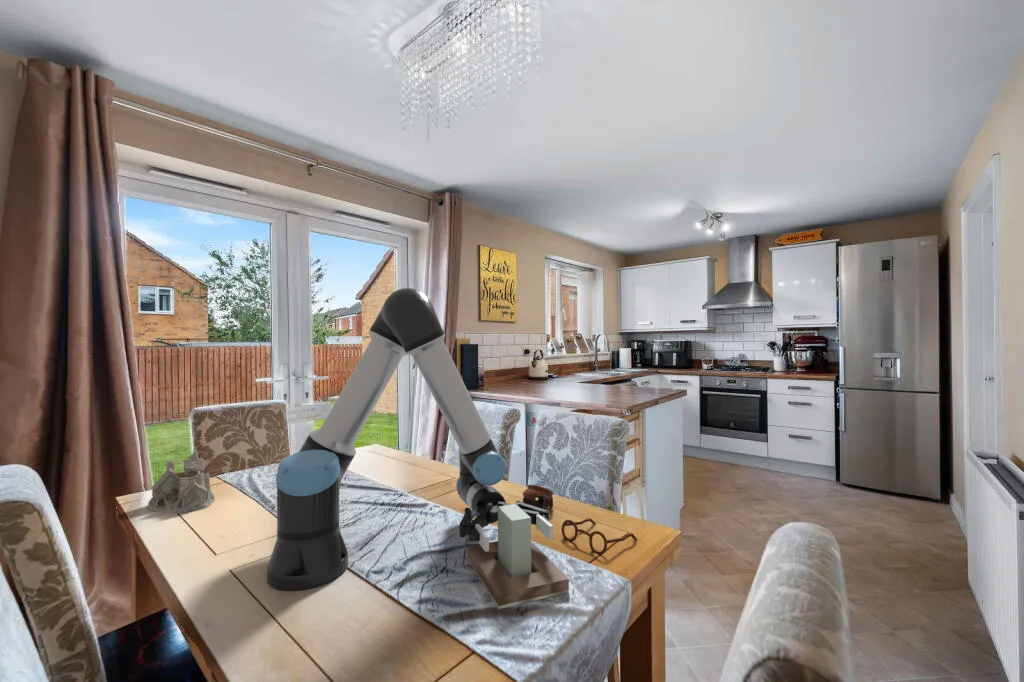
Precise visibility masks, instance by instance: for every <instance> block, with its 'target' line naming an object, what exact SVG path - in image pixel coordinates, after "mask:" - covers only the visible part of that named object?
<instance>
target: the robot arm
mask: <svg viewBox="0 0 1024 682" xmlns="http://www.w3.org/2000/svg"><path fill="white" fill-rule="evenodd" d="M368 334H369V336H370V342H369V343H368V344H367V346H366V348H365V350H364V352H362V353H363V354H362V355H361V356H360V359H359V360H358V362H357V363H356V366H355V367H354V369H353V371H352V373H351V374H350V376H349V378H348V379H347V382H346V384H345V385H344V387H343V388H342V390H341V392H340V394H339V396H337V399H336V400H335V402H334V403H333V406H332V407H331V409H330V410H329V413H328V414H327V416H326V417H325V420H324V421H323V423H322V425H321V426H320V428H318V429H316V430H312V431H311V432H309V434H308V436H307V437H306V439H305V441H304V442H303V445H302V446H301V447H300V450H299V451H297V452H295V453H293V454H291V455H287V456H286V457H284V458H283V459H282V460H281V461H280V463H279V464H278V466H277V473H276V476H275V481H276V515H277V516H276V517H277V518H276V530H277V531H276V541H275V544H274V547H273V549H272V552H271V555H270V559H269V561H268V564H267V567H266V583H268V585H269V586H270V587H272V588H273V589H277V590H282V591H302V590H307V589H311V588H316V587H318V586H321V585H325V584H327V583H329V582H332V581H333V580H335V579H336V578H339V577H340V576H341V575H342V574H343V573H344V572H345V571H346V570H347V568H348V567H349V553H348V552H349V551H348V548H347V547H346V543H345V540H344V537H343V535H342V532H341V529H340V491H341V489H340V488H341V484H342V479H343V478H344V476H345V474H346V472H347V470H348V469H349V466H350V465H351V463H352V461H353V460H354V458H355V456H356V454H357V450H356V448H355V443H356V441H357V439H358V437H359V435H360V434H361V432H362V430H363V429H364V426H365V425H366V423H367V421H368V419H369V417H370V415H371V414H372V412H373V411H374V409H375V407H376V405H377V404H378V402H379V400H380V398H381V396H382V395H383V393H384V390H385V389H386V388H387V386H388V383H390V380H391V379H392V377H393V375H394V373H395V372H396V369H397V368H398V367H399V364H400V362H401V360H403V358H404V356H405V357H406V356H412V357H413V359H414V361H415V363H416V365H417V367H418V369H419V371H420V374H421V375H422V377H423V379H424V381H425V383H426V385H427V387H428V389H429V392H430V393H431V395H432V397H433V399H434V401H435V403H436V406H437V407H438V409H439V410H440V413H441V414H442V416H443V419H444V420H445V422H446V425H447V426H448V428H449V430H450V432H451V434H452V436H453V438H454V440H455V442H456V444H457V446H458V456H459V461H458V462H459V476H458V477H457V481H456V485H455V487H456V488H455V489H456V491H457V494H458V496H459V497H460V499H461V500H462V501H463V502H464V503H465V504H466V506H467V507H465V508H464V515H463V516H462V519H461V520H460V522H459V524H458V525H459V531H458V532H459V538H460V539H461V538H465V537H466V536H468V541H469V542H474V543H475V542H478V545H479V544H480V545H481V546H482V548H483V549H484V551H485V552H486V551H489V543H490V536H489V535H488V534H487V531H485V530H484V527H488V526H489V524H495V523H496V522H498V507H499V506H506V505H512V504H510V503H508V502H507V501H506V500H505V497H504V496H503V495H502V493H500V491H498V490H497V489H496V488H495V487H494V485H498V484H499V483H500V482H501V481H502V480H503V479H504V478H505V476H506V473H507V464H506V460H505V459H504V457H503V456H502V454H500V453H499V452H498V449H497V448H496V446H495V443H494V441H493V440H492V438H491V435H490V433H489V431H488V429H487V427H486V425H485V423H484V421H483V419H482V417H481V415H480V413H479V411H478V409H477V407H476V405H475V403H474V400H473V398H472V397H471V395H470V393H469V390H468V389H467V387H466V385H465V383H464V381H463V378H462V376H461V374H460V372H459V370H458V368H457V365H456V364H455V362H454V360H453V358H452V356H451V354H450V351H449V350H448V348H447V346H446V343H445V337H446V334H445V331H444V329H443V327H442V325H441V321H440V320H439V317H438V315H437V312H436V310H435V308H434V305H433V303H432V301H431V300H430V298H429V297H428V296H427V295H426V294H425V293H424V292H422V291H421V290H418V289H415V288H411V287H406V288H405V287H403V288H400V289H397V290H395V291H393V292H392V293H391V294H389V296H387V298H386V300H385V301H384V302H383V305H382V307H381V310H380V311H379V312H378V315H377V317H376V318H375V320H374V322H373V323H372V324H371V327H370V328H369V330H368ZM515 504H516V505H517V506H518V507H520V508H521V509H522V510H523V511H524V512H525V513H526V514H527V515H529V516H530V517H531V525H533V526H534V525H535V528H536V529H537V530H538V531H540V532H541V533H542V534H543V536H545V537H546V538H547V539H548V540H554V525H553V524H552V523H551V521H550V511H549V510H548V509H547V510H544V509H541V508H538V507H535V506H531V505H528V504H525V503H523V500H516V501H515Z"/></svg>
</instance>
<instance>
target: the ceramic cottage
mask: <svg viewBox="0 0 1024 682" xmlns="http://www.w3.org/2000/svg"><path fill="white" fill-rule="evenodd" d="M204 460H205V459H204V458H203V457H202V458H199V456H198V451H197V450H193V451H192V454H190V455H189V458H188V459H184V460H183V471H182V472H176V471H175V461H174V459H172V460H171V459H170V460H167V461H166V469H165V472H164V473H163V474H162V476H161V477H160V478H159V479H158V481H156V482H155V483H154V484H153V485H152V486H151V488H152V489H151V490H152V491H151V496H152V497H151V498H150V500H149V501H148V502H147V507H146V508H147V510H148V511H149V512H158V513H168V514H183V513H184V514H185V513H189V512H193V511H201V510H204V509H207V508H208V507H210V506H211V505H212V504H213V503H214V501H215V500H216V498H215V494H214V493H213V492H212V489H211V481H210V473H204V470H205V469H204V467H205V462H204Z"/></svg>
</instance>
